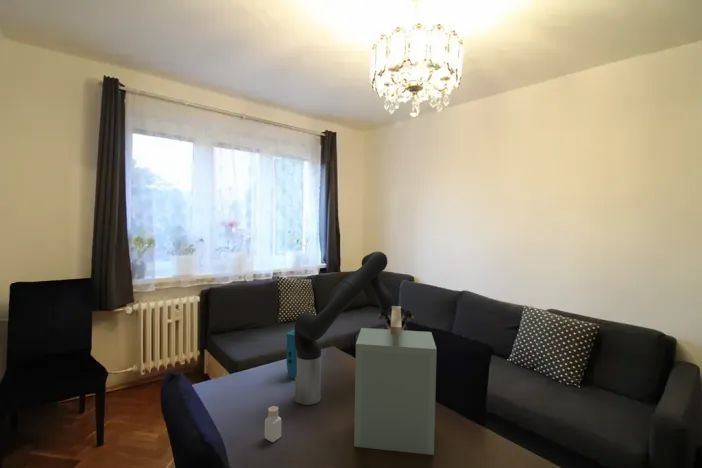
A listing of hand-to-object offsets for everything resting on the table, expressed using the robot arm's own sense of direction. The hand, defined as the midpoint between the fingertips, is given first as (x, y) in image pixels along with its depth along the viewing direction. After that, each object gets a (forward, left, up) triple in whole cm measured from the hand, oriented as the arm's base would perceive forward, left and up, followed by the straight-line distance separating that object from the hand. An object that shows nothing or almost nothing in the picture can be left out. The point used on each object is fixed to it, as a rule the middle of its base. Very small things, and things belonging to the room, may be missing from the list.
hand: (396, 309), depth 122 cm
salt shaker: (-38, -20, -38) cm, 57 cm away
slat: (0, -7, -3) cm, 7 cm away
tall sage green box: (0, -12, -38) cm, 40 cm away
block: (-43, +25, -38) cm, 63 cm away
